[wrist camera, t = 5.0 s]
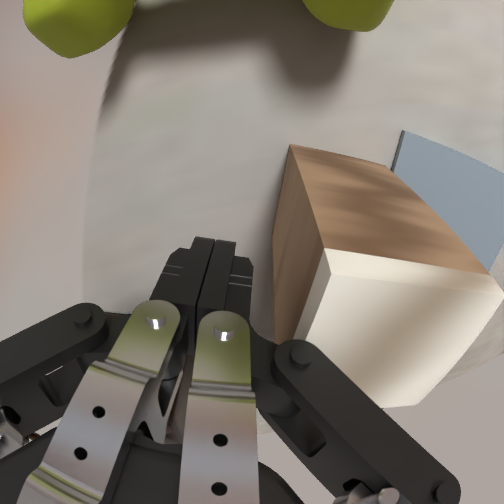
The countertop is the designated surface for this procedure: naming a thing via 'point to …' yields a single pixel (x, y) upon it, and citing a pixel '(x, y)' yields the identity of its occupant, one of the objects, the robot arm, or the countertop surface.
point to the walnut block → (373, 276)
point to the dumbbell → (121, 7)
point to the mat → (456, 192)
